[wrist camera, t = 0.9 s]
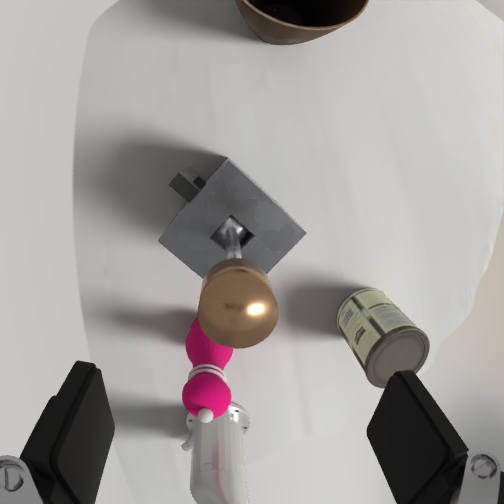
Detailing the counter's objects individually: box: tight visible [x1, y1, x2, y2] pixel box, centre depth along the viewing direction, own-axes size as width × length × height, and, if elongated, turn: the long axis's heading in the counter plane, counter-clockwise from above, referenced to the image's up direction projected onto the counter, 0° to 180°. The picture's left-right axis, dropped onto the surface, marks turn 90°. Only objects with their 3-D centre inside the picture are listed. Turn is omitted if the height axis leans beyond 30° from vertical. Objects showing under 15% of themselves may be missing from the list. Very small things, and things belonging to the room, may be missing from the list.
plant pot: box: [235, 0, 369, 45], centre depth 30 cm, size 15×15×16 cm
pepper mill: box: [182, 318, 233, 423], centre depth 42 cm, size 7×7×20 cm
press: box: [158, 158, 306, 279], centre depth 37 cm, size 10×13×16 cm
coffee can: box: [337, 288, 430, 388], centre depth 46 cm, size 10×10×14 cm
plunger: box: [198, 215, 278, 348], centre depth 24 cm, size 7×7×17 cm
